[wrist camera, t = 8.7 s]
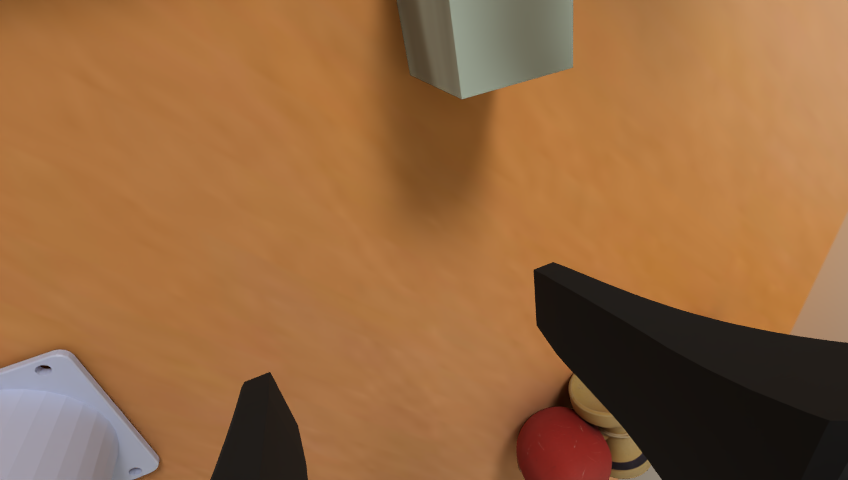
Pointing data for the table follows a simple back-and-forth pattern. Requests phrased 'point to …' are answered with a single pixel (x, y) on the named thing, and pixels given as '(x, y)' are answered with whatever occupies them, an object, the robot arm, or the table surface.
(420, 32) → the grey block with peg
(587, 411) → the kendama
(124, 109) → the table surface
